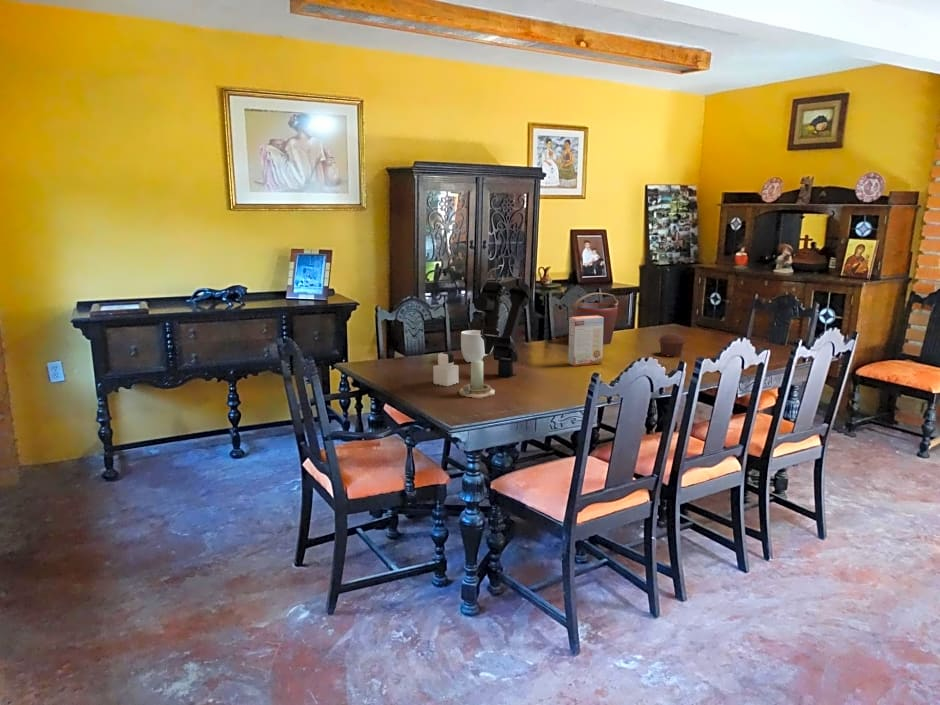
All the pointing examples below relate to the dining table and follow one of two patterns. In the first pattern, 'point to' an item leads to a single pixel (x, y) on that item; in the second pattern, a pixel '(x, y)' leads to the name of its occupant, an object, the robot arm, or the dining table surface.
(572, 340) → the cracker box
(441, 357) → the medicine bottle
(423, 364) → the dining table surface
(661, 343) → the muffin
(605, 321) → the bucket
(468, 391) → the flange plate
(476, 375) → the post
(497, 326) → the robot arm
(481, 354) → the mug
